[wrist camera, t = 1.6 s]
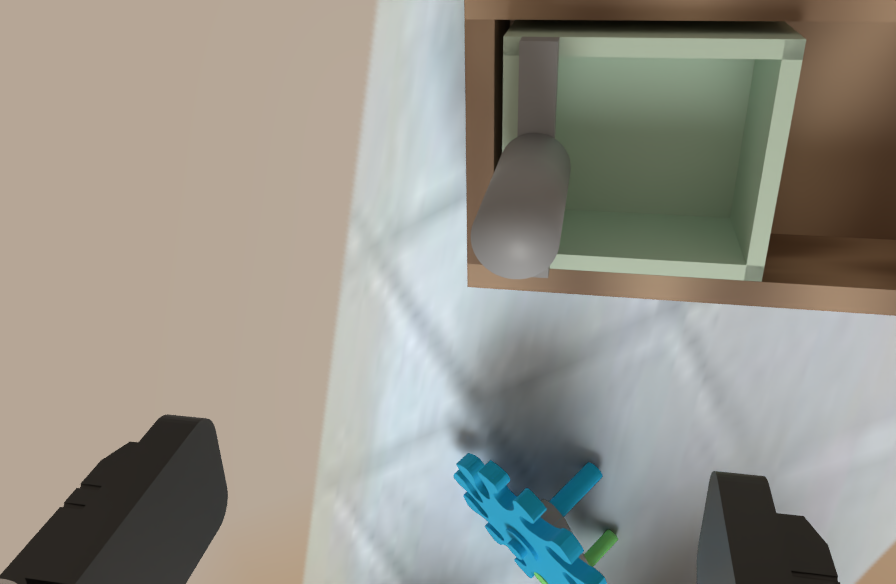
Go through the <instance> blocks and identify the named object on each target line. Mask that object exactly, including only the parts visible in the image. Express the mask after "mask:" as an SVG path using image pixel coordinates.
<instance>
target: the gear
mask: <svg viewBox="0 0 896 584" xmlns="http://www.w3.org/2000/svg"><path fill="white" fill-rule="evenodd" d="M456 465H457V467H458V468H459V470H458V471H457V472H456V473H455V474H454V478H455V480H456V481H457V482H458V483H459V484H460V485H461V486H462V487H463V488H464V489H465V490H466V491H467V492H466V493H465V494H464V498H465V500H466V502H467V504H468V505H469V507H470V508H471V509H472V510H474V511H475V512H476V513H478V514H479V515H481V516H482V517H483V518H485V519H486V520H487V521H488V522H489V523H487V524H486V525H485V527H486V529H487V531H488V532H489V533H490V535H491V536H492V537H493V539H494V540H495V541H496V542H497V543H499V544H500V545H502V544H503V545H506V546H507V547H508V548H509V549H510V551H511V552H512V553H513V554H514V555H515V556H516V558H515V559H514V560H515V562H516V563H517V565H518V566H519V567H520V568H521V569H522V570H523V571H524V572H525V573H526V575H527V576H528V577H530V578H532V577H533V576H534V575H535V576H536V578H537V579H538V580H539V581H540V582H541V583H542V584H607V582H606V580H605V577H604V576H603V575H602V574H601V573H600V572H599V571H597V570H596V569H595V568H593V566H594V565H595V564H596V563H597V562H598V561H599V560H600V559H601V558H602V556H603V555H604V554H605V553H606V552H607V551H608V550H609V549H610V548H611V547H612V546H613V545H614V543H615V542H616V541H617V540H618V538H617V536H616V535H615V534H614V533H613V532H612V531H610V530H607V531H606V532H605V533H604V534H603V535H602V536H601V537H600V538H599V539H598V540H597V541H596V542H595V544H594V545H593V546H592V547H591V548H590V549H589V550H588V551H587V552H586V553H585V554H583V552H584V550H583V548H582V546H581V545H580V543H579V542H578V540H577V539H576V537H575V536H574V535H573V533H572V532H571V530H570V528H569V526H568V524H567V522H566V520H565V519H564V516H565V515H566V514H567V513H568V512H569V511H570V510H571V509H572V508H573V507H574V506H575V505H576V504H577V503H578V502H579V501H580V500H581V499H582V498H583V497H584V496H585V495H586V494H587V492H588V491H589V490H590V489H591V488H592V487H593V486H594V485H595V484H596V483H597V482H598V481H599V480H600V479H601V478H602V477H603V475H602V473H601V471H600V470H599V469H598V468H597V467H596V466H595V465H594V464H592V463H590V462H588V463H587V464H586V465H585V466H584V467H583V468H582V469H581V470H580V471H579V472H578V473H577V474H576V475H575V476H574V477H573V478H572V479H571V480H570V481H569V482H568V483H567V484H566V485H565V486H564V487H563V488H562V489H561V490H560V491H559V492H558V493H557V494H556V495H555V496H554V497H553V498H552V499H551V500H550V501H549V502H548V501H547V500H545V499H542V500H541V501H540V500H539V498H538V497H537V496H536V495H535V494H534V493H533V492H532V491H531V490H530V489H528V488H526V489H525V490H523V491H522V492H521V493H520V494H519V495H518V496H515V495H514V494H513V493H512V492H511V491H510V490H509V488H508V487H507V484H508V483H509V482H510V478H509V476H508V474H507V473H506V472H505V471H504V470H503V469H502V468H501V467H499V466H498V465H497V464H496V463H494V462H493V461H492V460H490V461H489V462H488V463H487V464H486V465H484V464H483V462H482V461H481V460H480V459H479V458H478V457H477V456H475V455H473V454H470V453H468V454H467V455H465V456H464V457H463V458H462V459H461V460H460V461H459V462H458V463H457V464H456Z"/></svg>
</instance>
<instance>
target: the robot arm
mask: <svg viewBox="0 0 896 584" xmlns="http://www.w3.org/2000/svg"><path fill="white" fill-rule="evenodd" d="M227 499H228V491H227V485H226V480H225V475H224V470H223V465H222V460H221V455H220V450H219V445H218V440H217V435H216V430H215V427H214V424H213V423H212V421H211V420H210V419H206V418H196V417H186V416H176V415H164V416H162V417H160V418H159V419H158V420H157V421H156V422H155V423H154V425H153V426H152V427H151V428H150V429H149V431H148V432H147V433H146V434H145V435H144V437H143V438H142V439H141V440H140V442H138V443H137V442H129V443H127V444H126V445H124V446H123V447H121V448H120V449H118V450H116V451H115V452H114V453H112V454H111V455H109V456H107V457H106V458H104V459H103V460H101V461H100V462H99V463H98V465H97V466H96V467H95V468H94V469H93V470H92V471H91V472H90V474H89V475H88V476H87V477H86V478H85V479H84V481H83V482H82V483H81V487H80V488H76V490H75V491H74V492H73V493H72V494H71V495H70V496H69V498H68V499H67V500H66V501H65V502H64V507H60V508H59V509H58V510H57V511H56V512H55V514H54V515H53V516H52V517H51V518H50V519H49V520H48V522H47V523H46V524H45V525H44V526H43V527H42V528H41V529H40V530H39V532H38V533H37V534H36V535H35V536H34V537H33V538H32V540H31V541H30V542H29V543H28V544H27V545H26V546H25V548H24V549H23V550H22V551H21V552H20V553H19V555H17V557H16V558H15V559H14V560H13V561H12V562H11V563H10V565H9V566H8V567H7V568H6V569H5V570H4V571H3V573H2V574H1V575H0V584H186V582H187V581H188V579H189V577H190V576H191V574H192V572H193V571H194V569H195V568H196V566H197V564H198V562H199V561H200V559H201V558H202V556H203V554H204V553H205V551H206V549H207V548H208V546H209V544H210V543H211V541H212V539H213V538H214V536H215V535H216V533H217V531H218V530H219V528H220V526H221V524H222V521H223V519H224V516H225V512H226V507H227ZM697 584H840V582H838V575H837V572H836V569H835V566H834V563H833V560H832V557H831V554H830V550H829V547H828V545H827V543H826V542H825V541H824V540H823V539H822V538H821V536H820V535H819V534H818V533H817V532H816V530H815V529H814V528H813V527H812V526H811V524H810V523H809V522H808V521H807V520H806V519H805V517H804V516H796V515H787V514H778V513H776V510H775V506H774V503H773V499H772V495H771V491H770V487H769V483H768V481H767V479H766V477H764V476H757V475H747V474H737V473H727V472H717V471H713V472H712V474H711V477H710V481H709V486H708V492H707V498H706V504H705V510H704V515H703V521H702V527H701V533H700V539H699V545H698V553H697Z"/></svg>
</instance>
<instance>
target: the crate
mask: <svg viewBox="0 0 896 584" xmlns="http://www.w3.org/2000/svg"><path fill="white" fill-rule="evenodd" d="M805 44H806V39H805V38H804V37H803V36H802V35H800V34H799V33H798V32H797V31H796V30H794V29H793V28H792V27H791V26H790V25H788V24H787V23H786V22H785V21H649V20H515V21H514V22H513V24H512V25H511V27H510V28H509V29H508V31H507V32H506V34H505V35H504V36H503V123H502V154H501V157H500V159H499V162H498V164H497V167H496V169H495V171H494V174H493V176H492V179H491V181H490V183H489V186H488V188H487V191H486V193H485V196H484V198H483V200H482V203H481V205H480V208H479V210H478V212H477V215H476V217H475V220H474V222H473V225H472V229H471V244H472V248H473V251H474V253H475V255H476V257H477V259H478V260H479V261H480V263H481V264H482V265H483V266H484V267H485V268H486V269H488V270H489V271H491V272H492V273H494V274H496V275H498V276H501V277H504V278H508V279H526V278H530V277H537V278H548V276H549V270H550V269H565V270H581V271H597V272H613V273H630V274H646V275H662V276H678V277H694V278H711V279H727V280H743V281H759V282H762V277H763V272H764V266H765V261H766V256H767V250H768V245H769V239H770V234H771V229H772V223H773V218H774V212H775V207H776V201H777V196H778V191H779V185H780V180H781V174H782V169H783V163H784V158H785V153H786V147H787V142H788V136H789V131H790V125H791V120H792V115H793V109H794V104H795V98H796V93H797V88H798V82H799V77H800V71H801V66H802V60H803V55H804V50H805Z"/></svg>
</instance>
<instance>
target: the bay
mask: <svg viewBox="0 0 896 584" xmlns="http://www.w3.org/2000/svg"><path fill="white" fill-rule="evenodd" d="M464 5H465V94H466V183H467V272H468V287H478V288H493V289H508V290H522V291H537V292H552V293H567V294H582V295H597V296H612V297H627V298H642V299H657V300H672V301H687V302H701V303H716V304H731V305H746V306H761V307H776V308H791V309H806V310H821V311H836V312H851V313H866V314H881V315H895V316H896V0H464ZM515 20H649V21H785V22H786V23H787V24H788V25H790V26H791V27H792V28H793V29H794V30H796V31H797V32H798V33H799V34H800V35H802V36H803V37H804V38H805V39H806V44H805V50H804V55H803V60H802V66H801V71H800V77H799V82H798V88H797V93H796V98H795V104H794V109H793V115H792V120H791V125H790V131H789V136H788V142H787V147H786V153H785V158H784V163H783V169H782V174H781V180H780V185H779V191H778V196H777V201H776V207H775V212H774V218H773V223H772V229H771V234H770V239H769V245H768V250H767V256H766V261H765V266H764V272H763V277H762V282H759V281H743V280H727V279H711V278H694V277H678V276H662V275H646V274H630V273H613V272H597V271H581V270H565V269H550V270H549V276H548V278H537V277H530V278H526V279H508V278H504V277H501V276H498V275H496V274H494V273H492V272H491V271H489V270H488V269H486V268H485V267H484V266H483V265H482V264H481V263H480V261H479V260H478V259H477V257H476V255H475V253H474V251H473V248H472V244H471V229H472V225H473V222H474V220H475V217H476V215H477V212H478V210H479V208H480V205H481V203H482V200H483V198H484V196H485V193H486V191H487V188H488V186H489V183H490V181H491V179H492V176H493V174H494V171H495V169H496V167H497V164H498V162H499V159H500V157H501V154H502V123H503V36H504V35H505V34H506V32H507V31H508V29H509V28H510V27H511V25H512V24H513V22H514V21H515Z"/></svg>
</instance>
